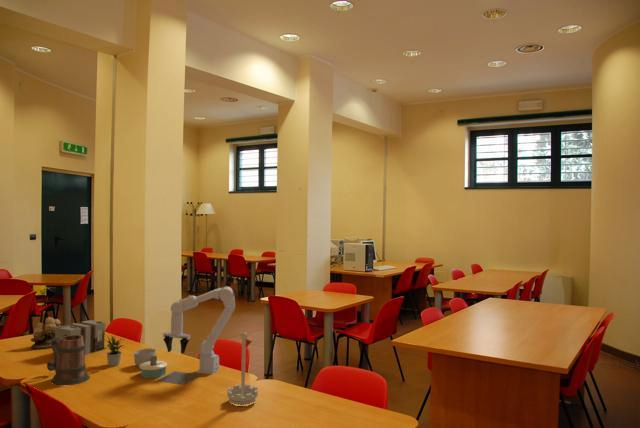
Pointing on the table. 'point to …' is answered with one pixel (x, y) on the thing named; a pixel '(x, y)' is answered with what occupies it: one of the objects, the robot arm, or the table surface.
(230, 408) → the table surface
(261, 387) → the table surface
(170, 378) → the mat
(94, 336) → the bookend
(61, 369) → the tankard
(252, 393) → the flag stand
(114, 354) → the house plant
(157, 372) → the bowl
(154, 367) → the lid
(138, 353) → the teacup
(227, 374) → the table surface
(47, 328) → the beige lumpy cluster
